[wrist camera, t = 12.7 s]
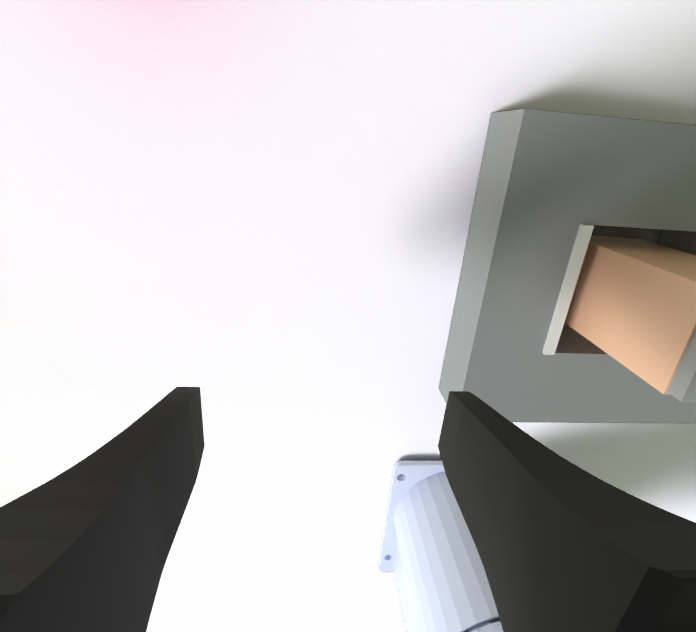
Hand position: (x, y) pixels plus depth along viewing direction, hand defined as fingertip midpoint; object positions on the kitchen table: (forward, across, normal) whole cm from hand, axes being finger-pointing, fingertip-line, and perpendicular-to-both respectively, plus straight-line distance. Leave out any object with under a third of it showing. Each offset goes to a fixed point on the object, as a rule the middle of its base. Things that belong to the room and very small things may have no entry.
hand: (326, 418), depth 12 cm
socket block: (+9, -14, -2) cm, 17 cm away
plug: (+9, -14, -2) cm, 17 cm away
